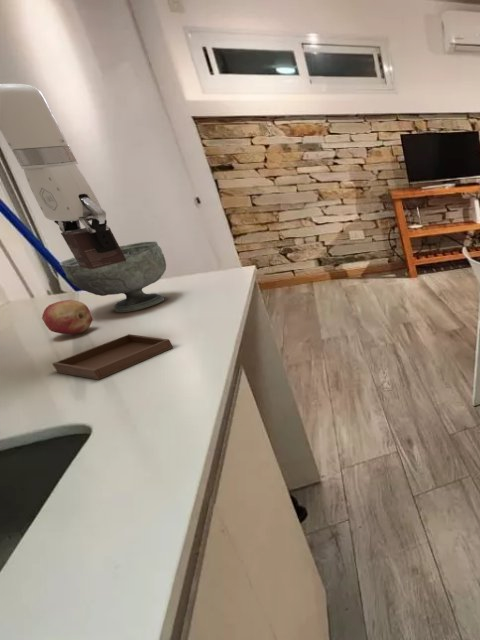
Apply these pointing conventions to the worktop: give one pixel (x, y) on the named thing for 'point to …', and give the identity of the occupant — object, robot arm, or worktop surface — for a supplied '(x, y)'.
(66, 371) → the desk tray
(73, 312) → the fruit
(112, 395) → the worktop surface
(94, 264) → the box
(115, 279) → the bowl
